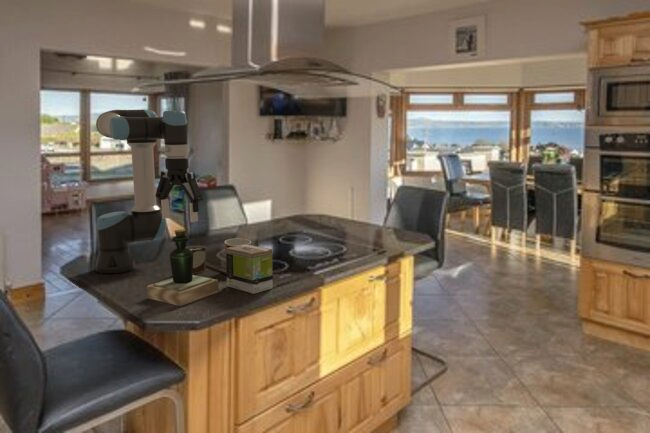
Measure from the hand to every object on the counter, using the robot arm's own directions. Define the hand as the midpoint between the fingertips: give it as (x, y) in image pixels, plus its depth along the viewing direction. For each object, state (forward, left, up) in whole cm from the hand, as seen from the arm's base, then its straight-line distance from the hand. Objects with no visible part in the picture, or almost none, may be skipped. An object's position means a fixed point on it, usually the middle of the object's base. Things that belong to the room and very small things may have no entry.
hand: (179, 219), depth 188 cm
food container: (-20, +23, -27) cm, 41 cm away
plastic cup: (-6, +36, -27) cm, 45 cm away
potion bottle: (0, 0, -22) cm, 22 cm away
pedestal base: (0, 0, -27) cm, 27 cm away
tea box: (+14, +19, -27) cm, 36 cm away
